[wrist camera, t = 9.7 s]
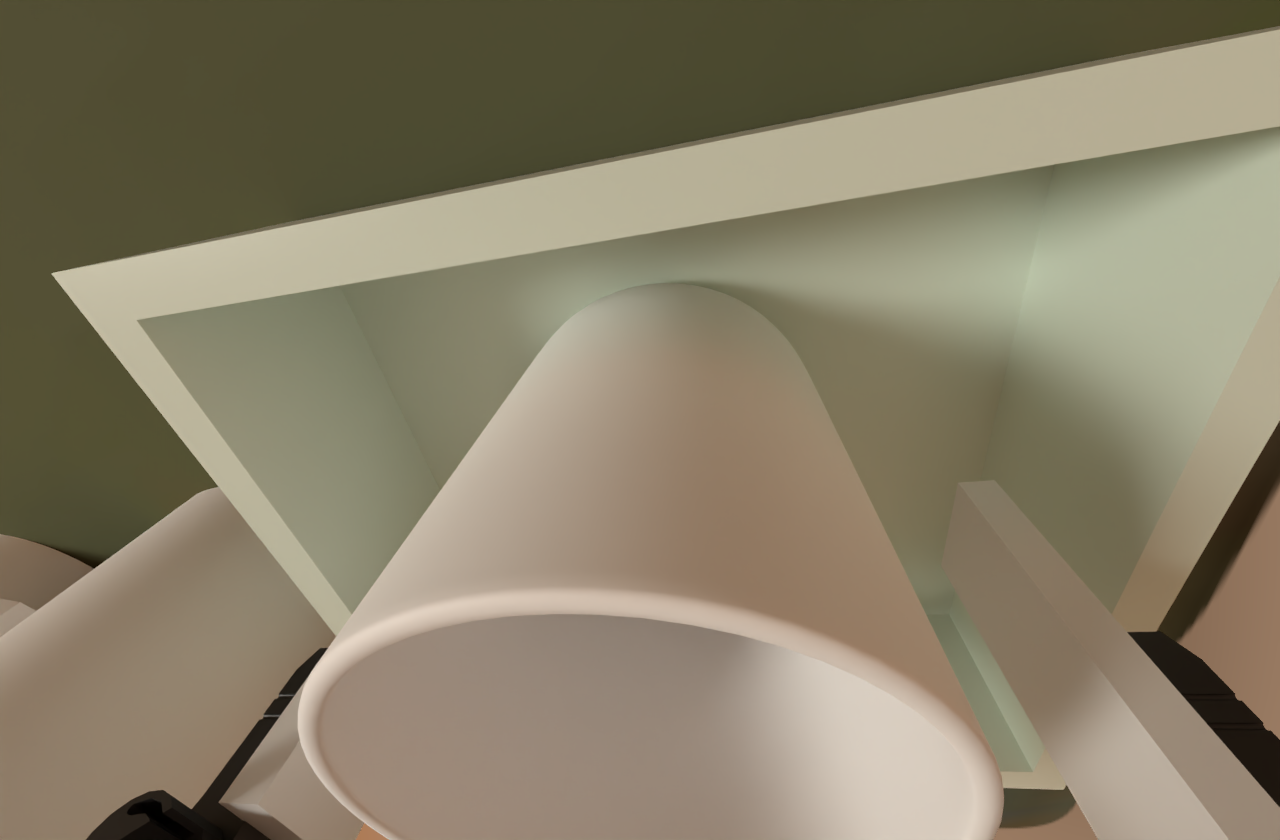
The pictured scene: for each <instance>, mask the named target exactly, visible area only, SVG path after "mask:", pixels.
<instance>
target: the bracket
mask: <svg viewBox="0 0 1280 840" xmlns="http://www.w3.org/2000/svg"><path fill="white" fill-rule="evenodd" d="M335 638H336V635H335V634H334V633H333V632H332V630H331V629H330V628H329V627H328V625H327V624H326V623H325V621H324V620H323V619H322V618H321V616H320V615H319V614H318V613H317V611H316V610H315V609H314V607H313V606H312V605H311V604H310V602H309V601H308V600H307V598H306V597H305V596H304V595H303V593H302V592H301V591H300V590H299V588H298V587H297V586H296V584H295V583H294V582H293V581H292V579H291V578H290V577H289V576H288V574H287V573H286V572H285V570H284V569H283V568H282V567H281V565H280V564H279V563H278V562H277V560H276V559H275V558H274V556H273V555H272V554H271V553H270V551H269V550H268V549H267V548H266V546H265V545H264V544H263V542H262V541H261V540H260V539H259V537H258V536H257V535H256V534H255V532H254V531H253V530H252V528H251V527H250V526H249V525H248V523H247V522H246V521H245V520H244V518H243V517H242V516H241V514H240V513H239V512H238V511H237V509H236V508H235V507H234V506H233V504H232V503H231V502H230V500H229V499H228V498H227V497H226V495H225V494H224V493H223V492H222V490H221V489H220V488H219V487H217V488H212V489H208V490H205V491H203V492H200V493H198V494H197V495H195V496H194V497H192V498H191V499H189V500H188V501H187V502H185V503H184V504H183V505H181V506H180V507H178V508H177V509H176V510H174V511H173V512H172V513H170V514H169V515H167V516H166V517H165V518H163V519H162V520H161V521H159V522H158V523H156V524H155V525H154V526H152V527H151V528H150V529H148V530H147V531H145V532H144V533H143V534H141V535H140V536H139V537H137V538H136V539H134V540H133V541H132V542H130V543H129V544H128V545H126V546H125V547H124V548H122V549H121V550H119V551H118V552H117V553H115V554H114V555H113V556H111V557H110V558H108V559H107V560H106V561H104V562H103V563H102V564H100V565H99V566H97V567H96V568H95V569H94V568H92V567H90V566H88V565H86V564H85V563H83V562H81V561H79V560H77V559H75V558H73V557H71V556H69V555H66V554H64V553H62V552H59V551H57V550H55V549H52V548H49V547H47V546H44V545H41V544H38V543H35V542H32V541H29V540H25V539H21V538H17V537H13V536H7V535H1V534H0V840H86V839H87V838H88V836H89V835H90V834H91V833H92V832H93V831H94V830H95V829H96V828H97V827H98V826H99V825H100V824H101V823H102V822H103V821H104V820H105V819H106V818H107V817H108V816H109V815H111V814H112V813H113V812H115V811H116V810H117V809H119V808H120V807H122V806H123V805H124V804H126V803H127V802H129V801H130V800H132V799H134V798H136V797H138V796H140V795H142V794H145V793H147V792H149V791H157V790H164V791H166V792H167V793H168V794H170V795H171V796H173V797H174V798H176V799H177V800H179V801H180V802H182V803H183V804H184V805H186V806H187V807H189V808H190V809H192V808H193V807H194V806H195V804H196V803H197V802H198V801H199V800H200V798H201V797H202V796H203V795H204V793H205V792H206V791H207V789H208V788H209V787H210V785H211V784H212V783H213V781H214V780H215V779H216V777H217V776H218V775H219V773H220V772H221V771H222V769H223V768H224V766H225V765H226V764H227V762H228V761H229V760H230V758H231V757H232V756H233V754H234V753H235V752H236V750H237V749H238V748H239V746H240V745H241V744H242V742H243V741H244V740H245V738H246V737H247V736H248V734H249V733H250V732H251V730H252V729H253V727H254V726H255V725H256V723H257V722H258V721H259V720H261V719H263V717H264V715H263V714H264V713H265V711H266V710H267V709H268V707H269V706H270V705H271V703H272V702H273V701H274V699H277V698H278V697H279V693H280V691H281V690H282V689H283V687H284V686H285V684H286V683H287V682H288V680H289V679H290V678H291V676H292V675H293V674H294V672H295V671H296V670H297V669H298V668H299V667H300V666H301V665H302V664H303V663H304V662H305V661H306V660H308V659H309V658H310V657H311V656H312V655H313V654H314V653H315V652H316V651H317V650H318V649H320V648H328V647H329V646H330V645H331V643H332V642H333V640H334V639H335Z"/></svg>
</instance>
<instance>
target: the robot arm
mask: <svg viewBox="0 0 1280 840" xmlns="http://www.w3.org/2000/svg"><path fill="white" fill-rule="evenodd" d="M941 567H942V568H943V570H944V572H945V573H946V575H947V577H948V579H949V580H950V582H951V584H952V586H953V587H954V589H955V591H956V593H957V594H958V596H959V598H960V600H961V601H962V603H963V605H964V607H965V608H966V610H967V612H968V614H969V615H970V617H971V619H972V621H973V622H974V624H975V626H976V628H977V629H978V631H979V633H980V634H981V636H982V638H983V640H984V641H985V643H986V645H987V647H988V648H989V650H990V652H991V654H992V655H993V657H994V659H995V661H996V662H997V664H998V666H999V668H1000V669H1001V671H1002V673H1003V675H1004V676H1005V678H1006V680H1007V682H1008V683H1009V685H1010V687H1011V689H1012V690H1013V692H1014V694H1015V696H1016V697H1017V699H1018V701H1019V702H1020V704H1021V706H1022V708H1023V709H1024V711H1025V713H1026V715H1027V716H1028V718H1029V720H1030V722H1031V723H1032V725H1033V727H1034V729H1035V730H1036V732H1037V734H1038V736H1039V737H1040V739H1041V741H1042V743H1043V744H1044V746H1045V748H1046V750H1047V751H1048V753H1049V755H1050V757H1051V758H1052V760H1053V762H1054V763H1055V765H1056V767H1057V769H1058V770H1059V772H1060V774H1061V776H1062V777H1063V779H1064V781H1065V783H1066V784H1067V786H1068V788H1069V790H1070V791H1071V793H1072V795H1073V797H1074V798H1075V800H1076V802H1077V804H1078V805H1079V807H1080V809H1081V811H1082V812H1083V814H1084V816H1085V818H1086V819H1087V821H1088V823H1089V824H1090V826H1091V828H1092V830H1093V831H1094V833H1095V835H1096V837H1097V838H1098V840H1280V740H1279V739H1278V738H1277V737H1276V736H1275V735H1274V734H1273V732H1272V731H1268V730H1266V729H1265V728H1264V726H1263V722H1262V721H1261V720H1260V719H1259V718H1258V717H1257V716H1256V715H1255V714H1254V713H1253V712H1252V711H1251V710H1250V709H1249V708H1248V707H1247V706H1246V705H1245V704H1244V703H1243V702H1242V701H1239V700H1237V699H1236V697H1235V693H1234V692H1233V691H1232V690H1231V689H1230V688H1229V687H1228V686H1227V685H1226V684H1225V683H1224V682H1223V681H1222V680H1221V679H1220V678H1219V677H1218V676H1217V675H1216V674H1215V673H1214V672H1213V671H1212V670H1211V669H1210V668H1209V666H1208V665H1207V664H1206V663H1205V662H1204V661H1203V660H1202V659H1200V658H1199V657H1197V656H1196V655H1194V654H1193V653H1191V652H1190V651H1188V650H1187V649H1185V648H1184V647H1183V646H1181V645H1180V644H1178V643H1177V642H1175V641H1174V640H1172V639H1171V638H1169V637H1168V636H1166V635H1165V634H1163V633H1162V632H1160V631H1157V632H1126V630H1125V629H1124V628H1123V627H1122V626H1121V625H1120V624H1119V622H1118V621H1117V620H1116V619H1115V618H1114V617H1113V616H1112V614H1111V613H1110V612H1109V611H1108V610H1107V609H1106V607H1105V606H1104V605H1103V604H1102V603H1101V602H1100V601H1099V599H1098V598H1097V597H1096V596H1095V595H1094V594H1093V593H1092V591H1091V590H1090V589H1089V588H1088V587H1087V586H1086V585H1085V583H1084V582H1083V581H1082V580H1081V579H1080V578H1079V576H1078V575H1077V574H1076V573H1075V572H1074V571H1073V570H1072V568H1071V567H1070V566H1069V565H1068V564H1067V563H1066V562H1065V560H1064V559H1063V558H1062V557H1061V556H1060V555H1059V554H1058V552H1057V551H1056V550H1055V549H1054V548H1053V547H1052V546H1051V544H1050V543H1049V542H1048V541H1047V540H1046V539H1045V537H1044V536H1043V535H1042V534H1041V533H1040V532H1039V531H1038V529H1037V528H1036V527H1035V526H1034V525H1033V524H1032V523H1031V521H1030V520H1029V519H1028V518H1027V517H1026V516H1025V515H1024V513H1023V512H1022V511H1021V510H1020V509H1019V508H1018V506H1017V505H1016V504H1015V503H1014V502H1013V501H1012V500H1011V498H1010V497H1009V496H1008V495H1007V494H1006V493H1005V492H1004V490H1003V489H1002V488H1001V487H1000V486H999V485H998V484H997V482H996V481H995V480H990V481H975V482H961V483H958V485H957V490H956V495H955V500H954V505H953V510H952V514H951V519H950V524H949V529H948V534H947V539H946V544H945V549H944V554H943V558H942V563H941ZM327 649H328V648H320V649H318V650H317V651H316V652H315V653H314V654H313V655H312V656H311V657H310V658H309V659H308V660H306V661H305V662H304V663H303V664H302V665H301V666H300V667H299V668H298V669H297V670H296V671H295V672H294V674H293V675H292V676H291V678H290V679H289V680H288V682H287V683H286V684H285V686H284V687H283V689H282V690H281V691H280V693H279V697H278V698H277V699H274V701H273V702H272V703H271V705H270V706H269V707H268V709H267V710H266V711H265V713H264V714H263V715H264V717H263V719H261V720H259V721H258V722H257V723H256V725H255V726H254V727H253V729H252V730H251V732H250V733H249V734H248V736H247V737H246V738H245V740H244V741H243V742H242V744H241V745H240V746H239V748H238V749H237V750H236V752H235V753H234V754H233V756H232V757H231V758H230V760H229V761H228V762H227V764H226V765H225V766H224V768H223V769H222V771H221V772H220V773H219V775H218V776H217V777H216V779H215V780H214V781H213V783H212V784H211V785H210V787H209V788H208V789H207V791H206V792H205V793H204V795H203V796H202V797H201V798H200V800H199V801H198V802H197V803H196V804H195V806H194V807H193V808H192V809H190V808H189V807H187V806H186V805H184V804H183V803H182V802H180V801H179V800H177V799H176V798H174V797H173V796H171V795H170V794H168V793H167V792H166V791H164V790H157V791H149V792H147V793H145V794H142V795H140V796H138V797H136V798H134V799H132V800H130V801H129V802H127V803H126V804H124V805H123V806H122V807H120V808H119V809H117V810H116V811H115V812H113V813H112V814H111V815H109V816H108V817H107V818H106V819H105V820H104V821H103V822H102V823H101V824H100V825H99V826H98V827H97V828H96V829H95V830H94V831H93V832H92V833H91V834H90V835H89V836H88V838H87V839H86V840H356V838H357V836H358V834H359V832H360V830H361V828H362V826H363V824H364V822H363V821H361V820H360V819H359V818H357V817H356V816H355V815H354V814H352V813H351V812H350V811H349V810H348V809H347V808H346V807H345V806H343V805H342V804H341V803H340V802H339V801H338V800H337V799H336V798H335V797H334V796H333V795H332V794H331V793H330V792H329V790H328V789H327V788H326V787H325V786H324V785H323V783H322V782H321V781H320V779H319V778H318V777H317V775H316V774H315V772H314V771H313V769H312V767H311V766H310V764H309V762H308V760H307V759H306V756H305V753H304V751H303V748H302V746H301V743H300V738H299V733H298V708H299V703H300V699H301V695H302V690H303V687H304V685H305V683H306V681H307V679H308V677H309V675H310V673H311V671H312V670H313V668H314V667H315V666H316V664H317V663H318V661H319V660H320V659H321V657H322V656H323V654H324V653H325V652H326V650H327Z"/></svg>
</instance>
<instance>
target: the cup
mask: <svg viewBox="0 0 1280 840" xmlns="http://www.w3.org/2000/svg"><path fill="white" fill-rule="evenodd" d="M298 733H299V738H300V743H301V746H302V748H303V751H304V753H305V756H306V759H307V760H308V762H309V764H310V766H311V767H312V769H313V771H314V772H315V774H316V775H317V777H318V778H319V779H320V781H321V782H322V783H323V785H324V786H325V787H326V788H327V789H328V790H329V792H330V793H331V794H332V795H333V796H334V797H335V798H336V799H337V800H338V801H339V802H340V803H341V804H342V805H343V806H345V807H346V808H347V809H348V810H349V811H350V812H351V813H352V814H354V815H355V816H356V817H357V818H359V819H360V820H361V821H363V822H364V823H365V824H367V825H368V826H369V827H371V828H372V829H374V830H375V831H377V832H378V833H380V834H381V835H383V836H384V837H386V838H387V839H389V840H993V839H994V837H995V835H996V833H997V830H998V828H999V825H1000V823H1001V819H1002V812H1003V805H1004V792H1003V782H1002V775H1001V772H1000V769H999V766H998V763H997V760H996V757H995V755H994V753H993V751H992V749H991V747H990V745H989V743H988V741H987V739H986V737H985V735H984V733H983V731H982V728H981V726H980V724H979V722H978V720H977V718H976V716H975V714H974V712H973V710H972V708H971V706H970V704H969V702H968V700H967V698H966V696H965V694H964V692H963V689H962V687H961V685H960V683H959V681H958V679H957V677H956V675H955V673H954V671H953V669H952V667H951V665H950V663H949V661H948V659H947V657H946V655H945V653H944V650H943V648H942V646H941V644H940V642H939V640H938V638H937V636H936V634H935V632H934V630H933V628H932V626H931V624H930V622H929V620H928V618H927V616H926V614H925V611H924V609H923V607H922V605H921V603H920V601H919V599H918V597H917V595H916V593H915V591H914V589H913V587H912V585H911V583H910V581H909V579H908V577H907V575H906V572H905V570H904V568H903V566H902V564H901V562H900V560H899V558H898V556H897V554H896V552H895V550H894V548H893V546H892V544H891V542H890V540H889V538H888V536H887V533H886V531H885V529H884V527H883V525H882V523H881V521H880V519H879V517H878V515H877V513H876V511H875V509H874V507H873V505H872V503H871V501H870V499H869V497H868V494H867V492H866V490H865V488H864V486H863V484H862V482H861V480H860V478H859V476H858V474H857V472H856V470H855V468H854V466H853V464H852V462H851V460H850V458H849V455H848V453H847V451H846V449H845V447H844V445H843V443H842V441H841V439H840V437H839V435H838V433H837V431H836V429H835V427H834V425H833V423H832V421H831V419H830V416H829V414H828V412H827V410H826V408H825V406H824V404H823V402H822V400H821V398H820V396H819V394H818V392H817V390H816V388H815V386H814V384H813V382H812V380H811V378H810V376H809V374H808V372H807V370H806V368H805V366H804V364H803V363H802V361H801V359H800V357H799V356H798V354H797V353H796V351H795V350H794V348H793V347H792V345H791V344H790V343H789V341H788V340H787V339H786V338H785V336H784V335H783V334H782V333H781V332H780V331H779V330H778V329H777V328H776V327H775V326H774V325H773V324H772V323H771V322H770V321H769V320H767V319H766V318H765V317H764V316H763V315H761V314H760V313H759V312H757V311H756V310H755V309H753V308H752V307H750V306H748V305H747V304H745V303H743V302H741V301H740V300H738V299H736V298H733V297H731V296H729V295H727V294H724V293H721V292H718V291H715V290H712V289H709V288H704V287H700V286H695V285H688V284H679V283H657V284H646V285H641V286H635V287H630V288H627V289H624V290H620V291H617V292H614V293H612V294H609V295H607V296H604V297H602V298H600V299H599V300H597V301H595V302H593V303H591V304H589V305H588V306H586V307H585V308H583V309H582V310H580V311H579V312H577V313H576V314H575V315H573V316H572V317H571V318H570V319H569V320H568V321H566V322H565V323H564V324H563V325H562V326H561V327H560V328H559V329H558V330H557V331H556V332H555V333H554V335H553V336H552V337H551V338H550V339H549V340H548V342H547V343H546V344H545V346H544V347H543V348H542V350H541V351H540V352H539V354H538V355H537V356H536V358H535V359H534V360H533V362H532V363H531V365H530V366H529V367H528V369H527V370H526V372H525V373H524V374H523V376H522V377H521V379H520V380H519V381H518V383H517V384H516V386H515V387H514V388H513V390H512V391H511V393H510V394H509V395H508V397H507V398H506V400H505V401H504V402H503V404H502V405H501V407H500V408H499V409H498V411H497V412H496V414H495V415H494V416H493V418H492V419H491V421H490V422H489V423H488V425H487V426H486V428H485V429H484V430H483V432H482V433H481V435H480V436H479V437H478V439H477V440H476V442H475V443H474V444H473V446H472V447H471V449H470V450H469V451H468V453H467V454H466V456H465V457H464V458H463V460H462V461H461V463H460V464H459V465H458V467H457V468H456V470H455V471H454V472H453V474H452V475H451V477H450V478H449V479H448V481H447V482H446V484H445V485H444V486H443V488H442V489H441V491H440V492H439V493H438V495H437V496H436V498H435V499H434V500H433V502H432V503H431V505H430V506H429V507H428V509H427V510H426V512H425V513H424V514H423V516H422V517H421V519H420V520H419V521H418V523H417V524H416V526H415V527H414V528H413V530H412V531H411V533H410V534H409V535H408V537H407V538H406V540H405V541H404V542H403V544H402V545H401V547H400V548H399V549H398V551H397V552H396V554H395V555H394V556H393V558H392V559H391V561H390V562H389V563H388V565H387V566H386V568H385V569H384V570H383V572H382V573H381V575H380V576H379V577H378V579H377V580H376V582H375V583H374V584H373V586H372V587H371V589H370V590H369V591H368V593H367V594H366V596H365V597H364V598H363V600H362V601H361V603H360V604H359V605H358V607H357V608H356V610H355V611H354V612H353V614H352V615H351V617H350V618H349V619H348V621H347V622H346V624H345V625H344V626H343V628H342V629H341V631H340V632H339V633H338V635H337V636H336V638H335V639H334V640H333V642H332V643H331V645H330V646H329V647H328V649H327V650H326V652H325V653H324V654H323V656H322V657H321V659H320V660H319V661H318V663H317V664H316V666H315V667H314V668H313V670H312V671H311V673H310V675H309V677H308V679H307V681H306V683H305V685H304V687H303V690H302V695H301V699H300V703H299V708H298Z"/></svg>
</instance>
